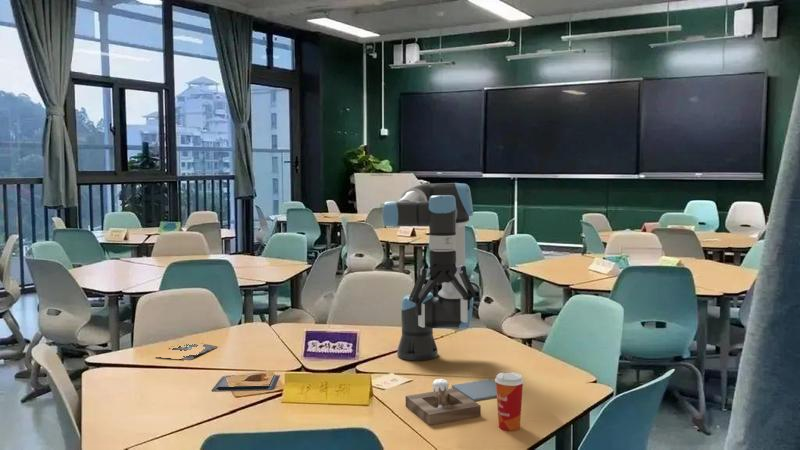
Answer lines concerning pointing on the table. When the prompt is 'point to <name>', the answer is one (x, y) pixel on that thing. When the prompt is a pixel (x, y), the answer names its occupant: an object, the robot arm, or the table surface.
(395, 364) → the table surface
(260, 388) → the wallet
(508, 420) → the paper cup
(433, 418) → the pocket block
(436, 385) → the milkshake
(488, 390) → the mat
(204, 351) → the terrain model
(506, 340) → the table surface
